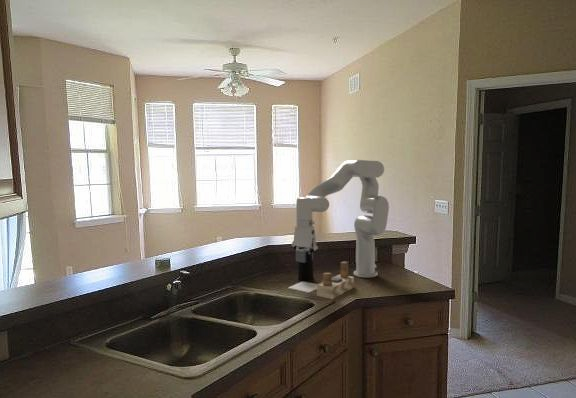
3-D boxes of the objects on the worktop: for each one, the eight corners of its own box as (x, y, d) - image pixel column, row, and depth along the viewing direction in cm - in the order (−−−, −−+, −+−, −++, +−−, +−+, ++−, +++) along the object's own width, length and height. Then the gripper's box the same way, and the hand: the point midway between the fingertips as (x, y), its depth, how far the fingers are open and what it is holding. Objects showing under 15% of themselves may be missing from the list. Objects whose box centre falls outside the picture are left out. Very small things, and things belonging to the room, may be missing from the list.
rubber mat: (302, 282, 190) (302, 281, 190) (322, 286, 183) (322, 285, 183) (288, 288, 181) (288, 287, 181) (308, 293, 173) (308, 292, 173)
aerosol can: (295, 280, 194) (295, 241, 192) (301, 276, 201) (300, 238, 200) (310, 281, 191) (310, 242, 189) (315, 277, 198) (315, 239, 197)
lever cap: (304, 258, 185) (304, 246, 184) (312, 260, 182) (312, 248, 181) (295, 261, 179) (295, 249, 179) (304, 262, 176) (304, 250, 176)
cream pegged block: (339, 284, 185) (338, 260, 185) (353, 287, 181) (353, 262, 180) (316, 295, 170) (316, 269, 169) (332, 299, 165) (332, 272, 164)
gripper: (323, 223, 177) (323, 262, 178) (294, 221, 187) (294, 257, 189) (315, 225, 171) (315, 265, 172) (285, 222, 181) (285, 260, 183)
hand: (304, 260), depth 181 cm, fingers closed on lever cap, 5 cm apart
